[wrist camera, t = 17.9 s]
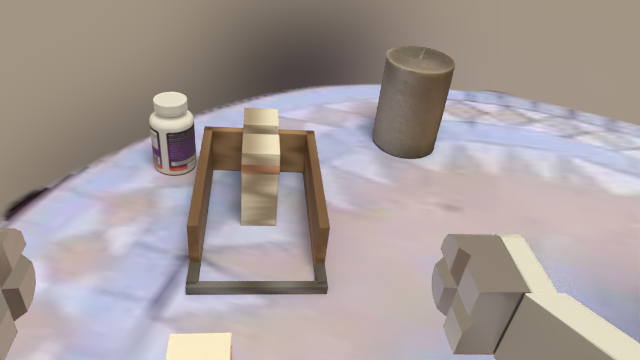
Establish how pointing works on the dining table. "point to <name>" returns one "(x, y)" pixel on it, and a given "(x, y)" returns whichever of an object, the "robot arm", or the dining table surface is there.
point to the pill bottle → (172, 134)
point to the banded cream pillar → (199, 346)
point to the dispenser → (258, 194)
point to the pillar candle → (412, 100)
